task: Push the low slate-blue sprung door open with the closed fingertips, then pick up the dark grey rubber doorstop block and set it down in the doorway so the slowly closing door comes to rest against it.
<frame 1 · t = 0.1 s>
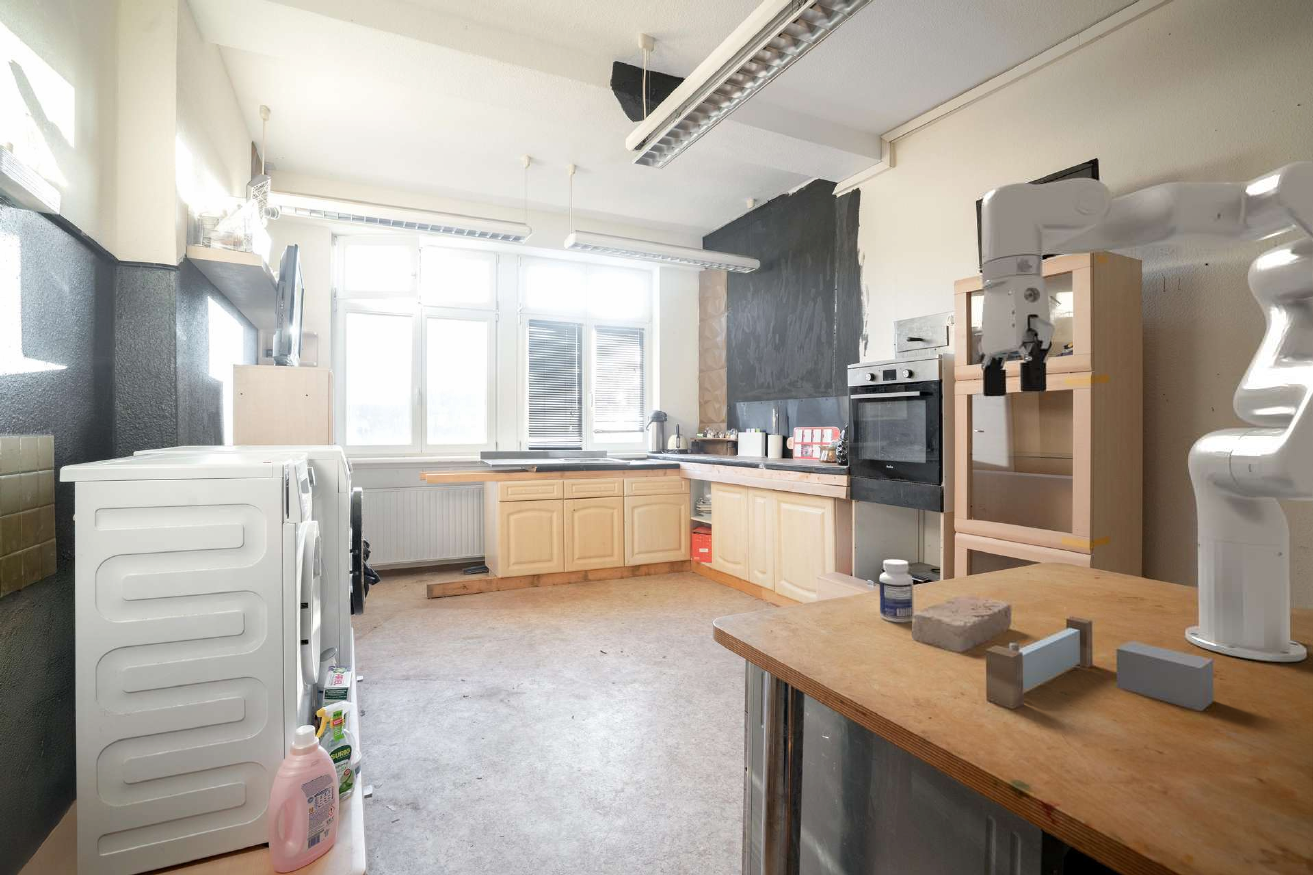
hand: (1013, 394, 88), 37 cm above the counter, fingers open, 9 cm apart
brown wooden block: (1004, 701, 72), on the counter
pill bottle: (896, 619, 105), on the counter
door: (1040, 653, 78), point 3 cm above the counter, hinge at 0.0°
brick: (962, 637, 96), on the counter
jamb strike: (1079, 663, 83), on the counter
doorstop block: (1164, 695, 73), on the counter
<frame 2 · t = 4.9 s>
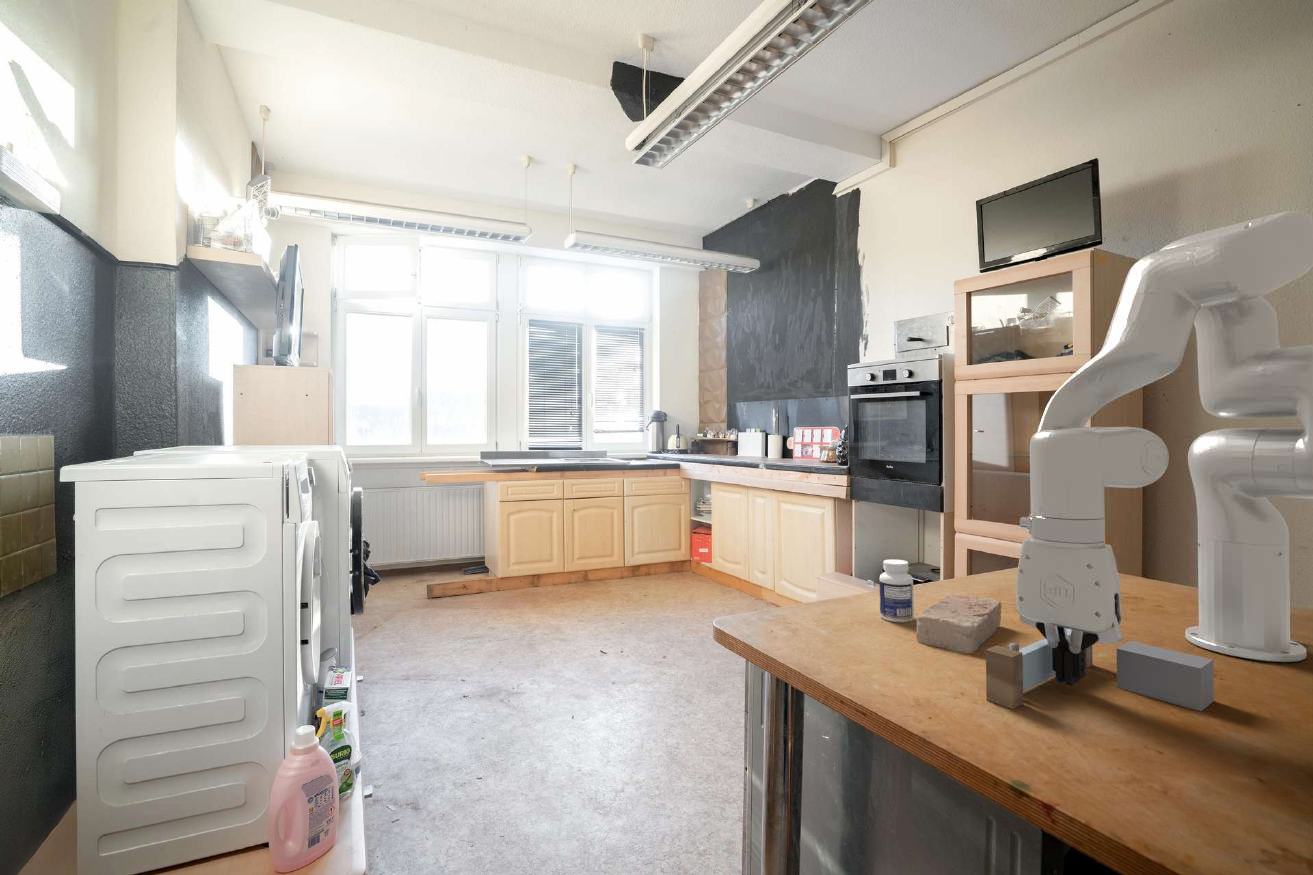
hand: (1068, 680, 75), 1 cm above the counter, fingers closed
door: (1040, 653, 78), point 3 cm above the counter, hinge at 0.0°, touching gripper
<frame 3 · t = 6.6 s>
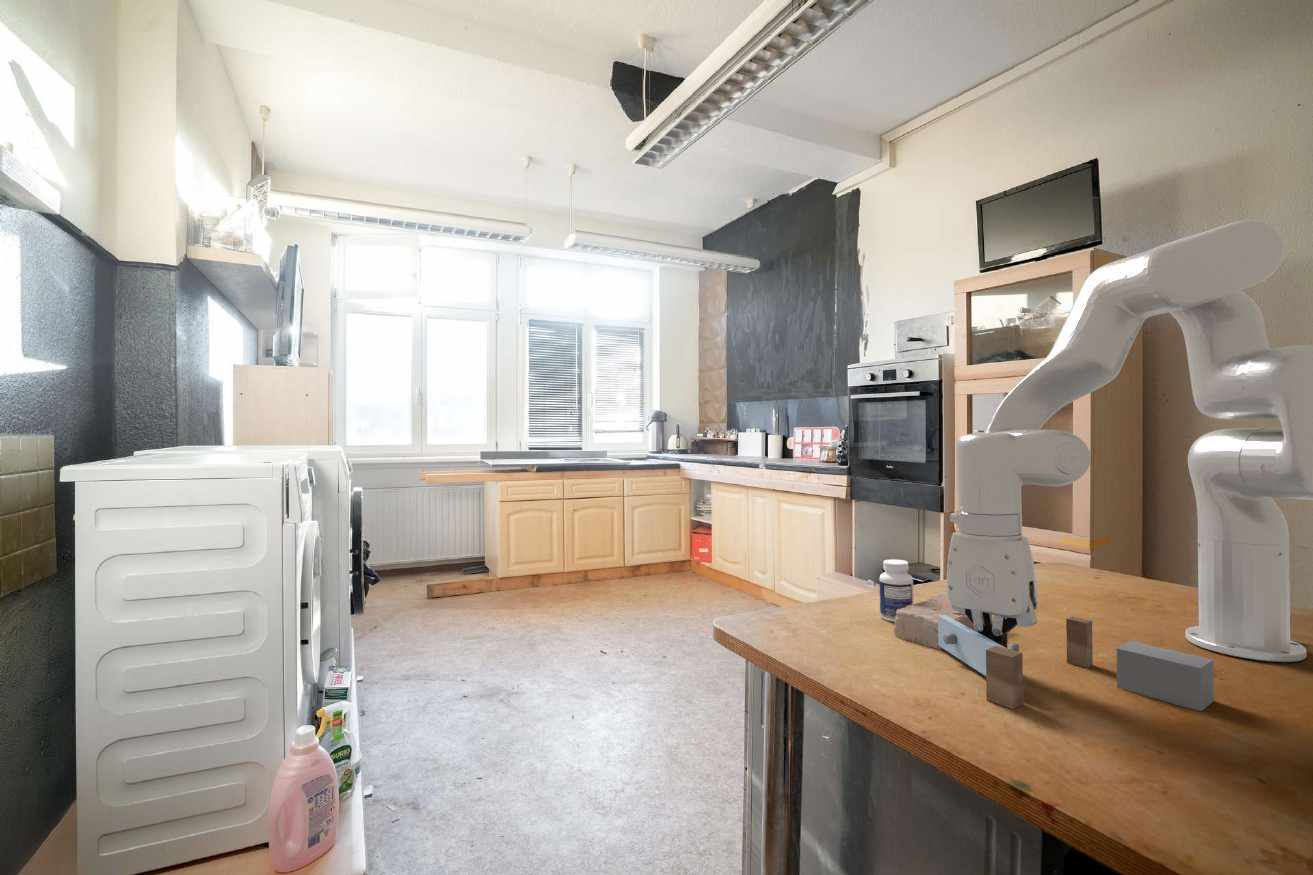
hand: (993, 661, 82), 1 cm above the counter, fingers closed
door: (971, 646, 81), point 3 cm above the counter, hinge at 59.9°, touching gripper
brick: (944, 634, 97), on the counter
everything else where it was.
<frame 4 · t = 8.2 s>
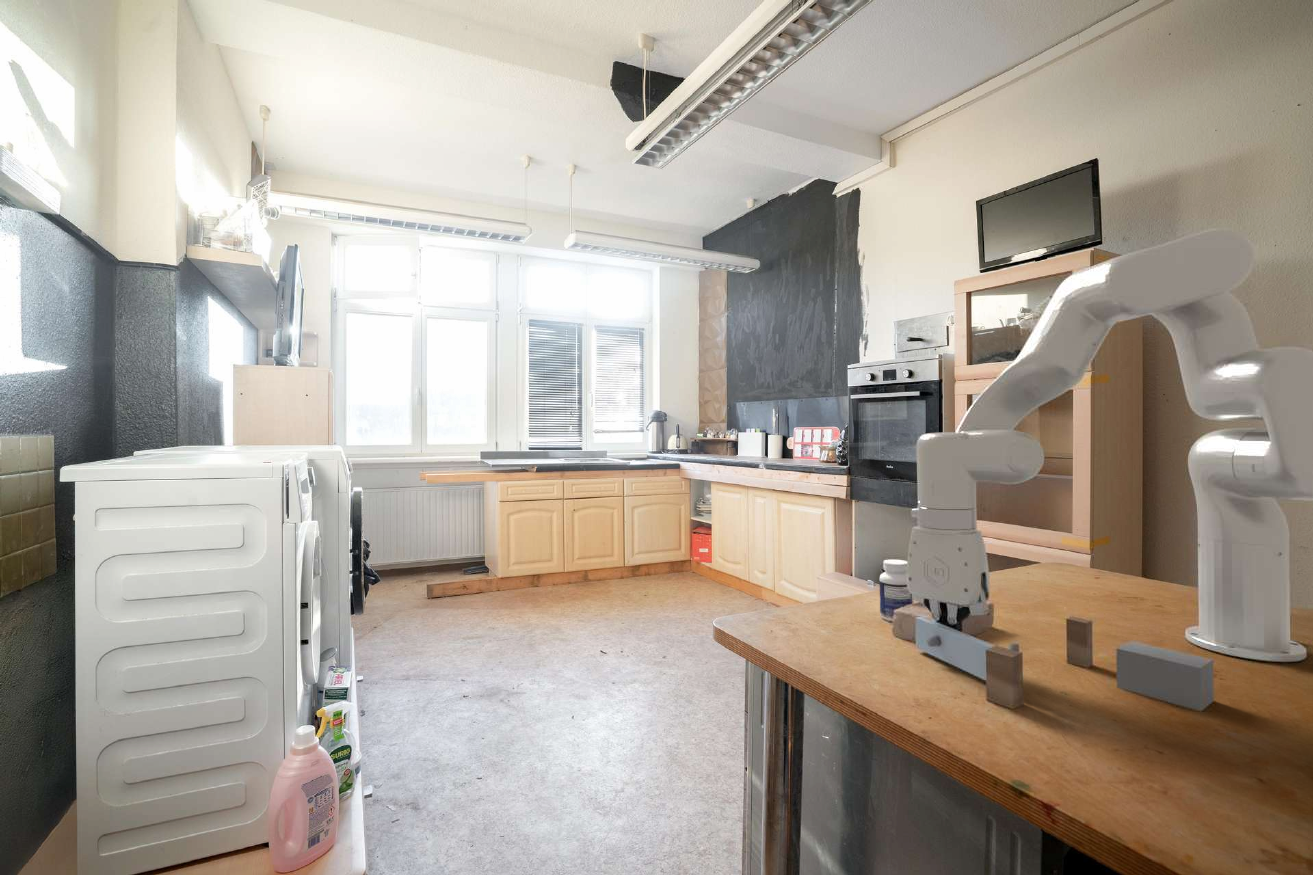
hand: (949, 648, 87), 1 cm above the counter, fingers closed
door: (959, 648, 81), point 3 cm above the counter, hinge at 72.9°, touching gripper
everything else where it was.
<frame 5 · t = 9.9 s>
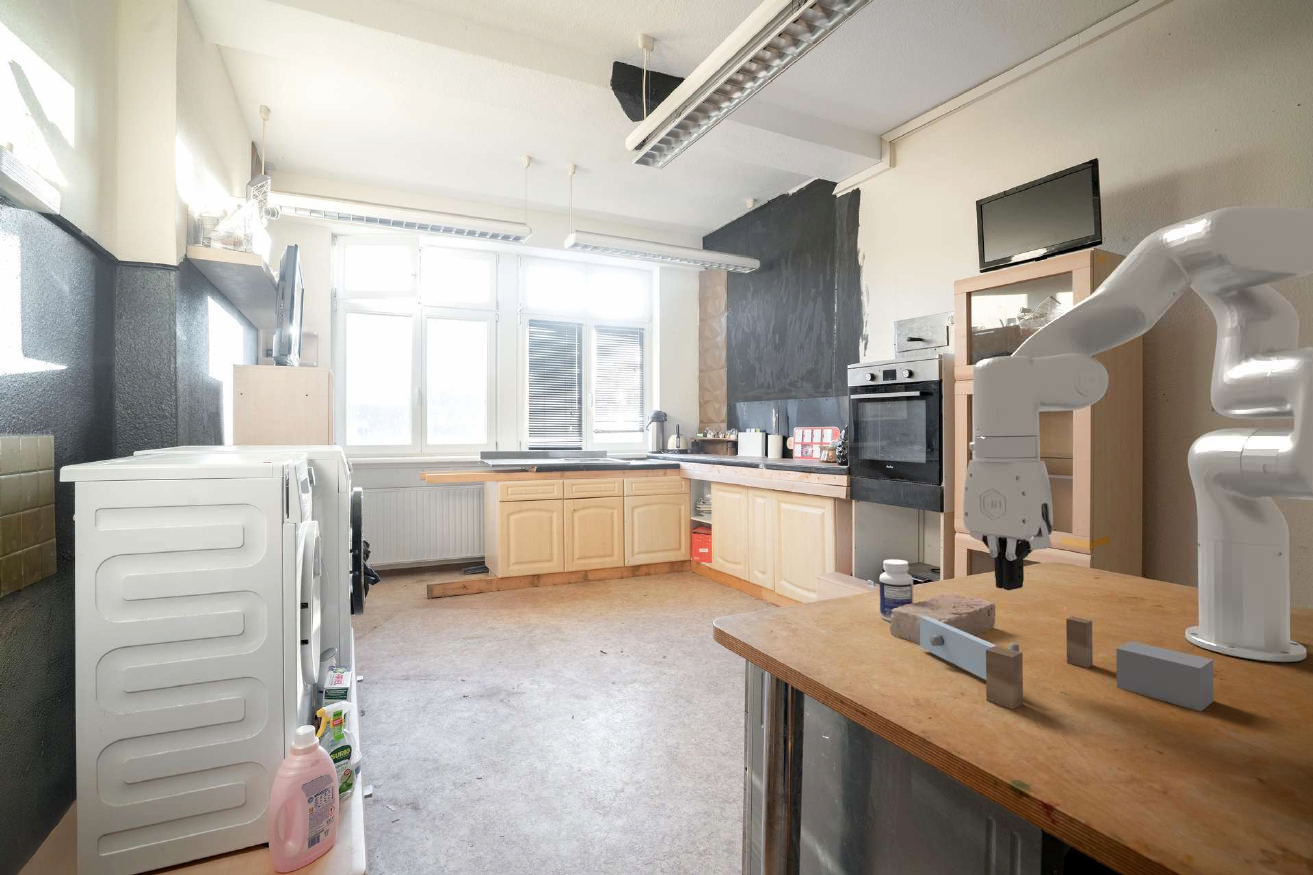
hand: (1009, 587, 81), 11 cm above the counter, fingers closed
door: (962, 647, 81), point 3 cm above the counter, hinge at 70.2°
everything else where it was.
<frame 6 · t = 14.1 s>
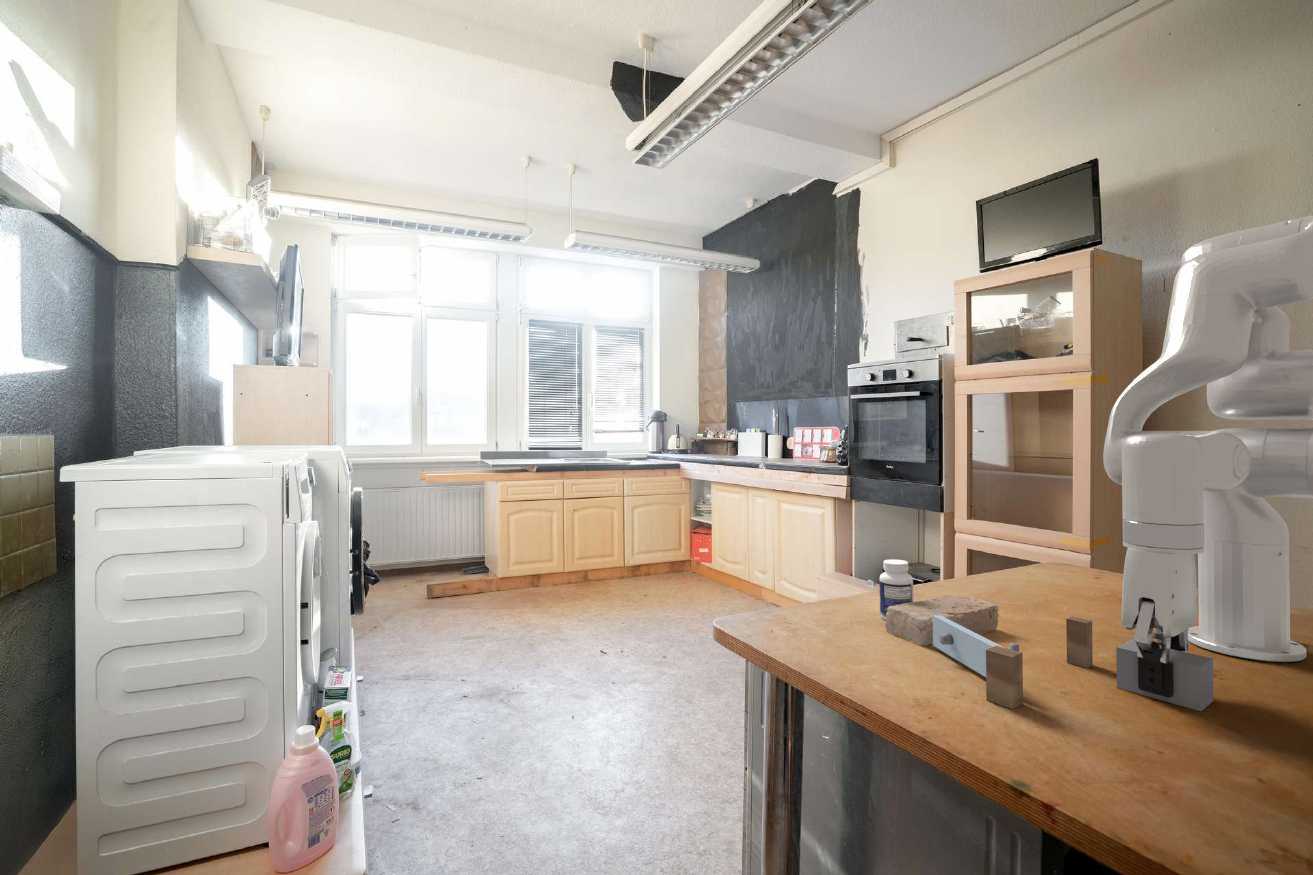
hand: (1163, 686, 73), 1 cm above the counter, fingers closed on doorstop block, 4 cm apart
door: (968, 646, 81), point 3 cm above the counter, hinge at 62.7°
doorstop block: (1163, 693, 73), on the counter, touching gripper
when the fingers open (1 cm above the counter, at t = 19.3 s): doorstop block stays where it is, on the counter.
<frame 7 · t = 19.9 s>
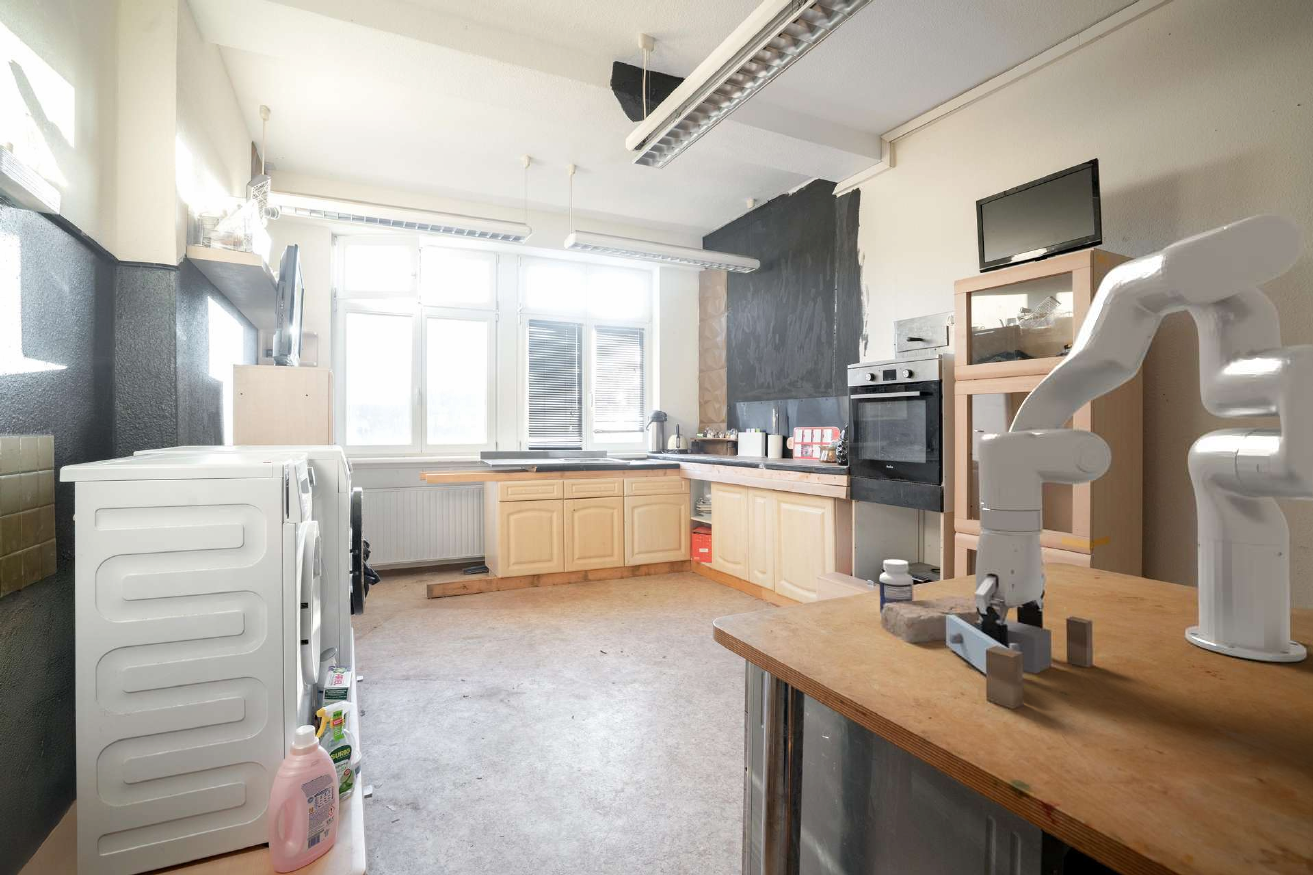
hand: (1013, 643, 85), 2 cm above the counter, fingers open, 9 cm apart
door: (975, 646, 81), point 3 cm above the counter, hinge at 55.6°, touching gripper
doorstop block: (1012, 661, 85), on the counter
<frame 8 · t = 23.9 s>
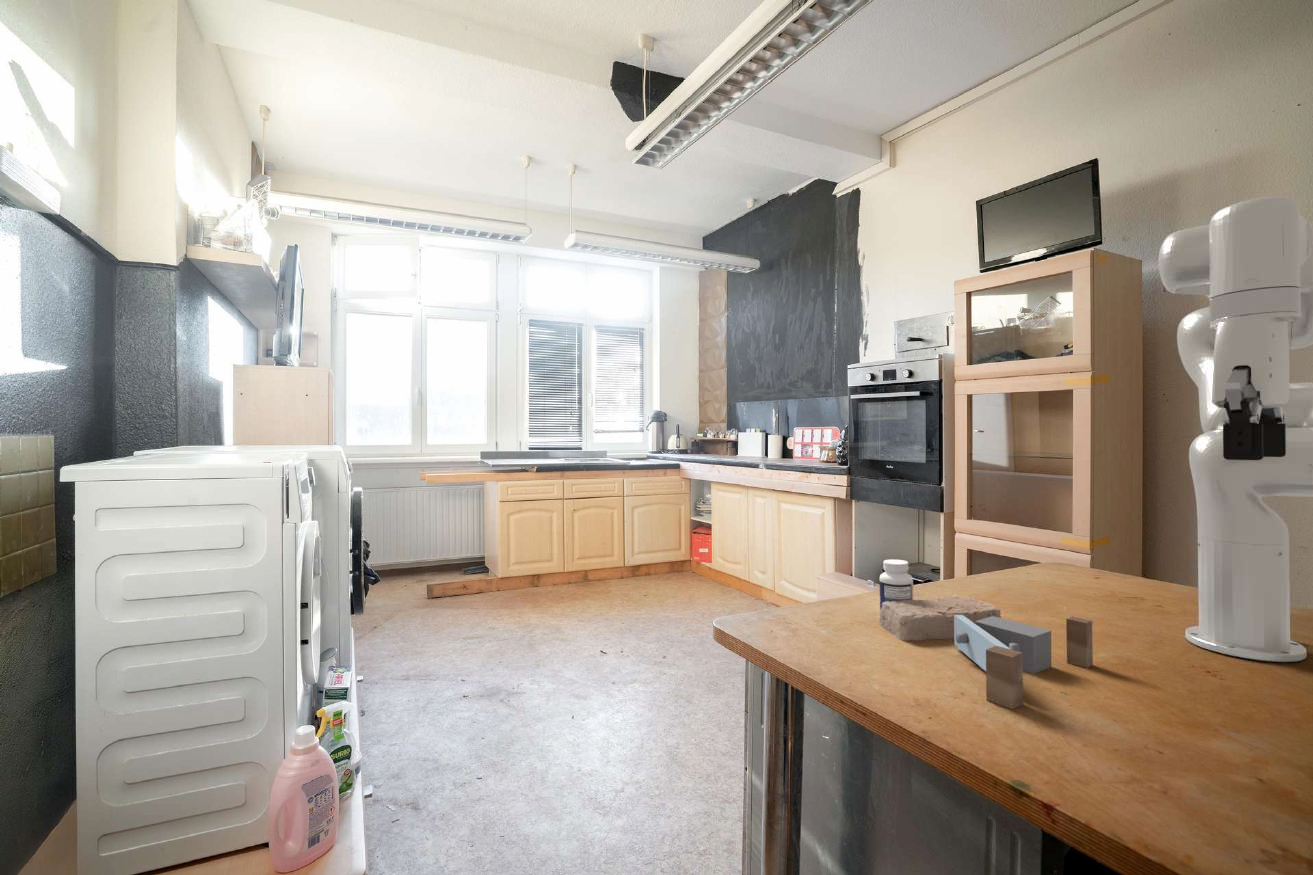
hand: (1255, 458, 71), 28 cm above the counter, fingers open, 9 cm apart
door: (979, 646, 81), point 3 cm above the counter, hinge at 51.4°
at the end: door at +51° (first picture: +0°); doorstop block inside the target area (0.6 cm from its centre), on the counter; doorstop block tilted 0° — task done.
